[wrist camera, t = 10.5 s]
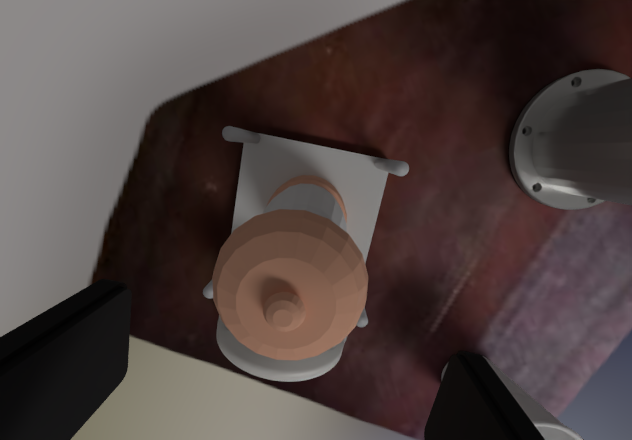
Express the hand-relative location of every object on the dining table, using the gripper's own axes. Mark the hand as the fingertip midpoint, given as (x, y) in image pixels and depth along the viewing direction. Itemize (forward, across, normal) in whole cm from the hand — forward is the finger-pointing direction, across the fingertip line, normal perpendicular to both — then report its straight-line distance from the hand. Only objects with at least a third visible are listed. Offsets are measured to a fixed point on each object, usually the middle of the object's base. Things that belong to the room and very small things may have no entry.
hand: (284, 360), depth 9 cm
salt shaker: (+22, +1, 0) cm, 22 cm away
